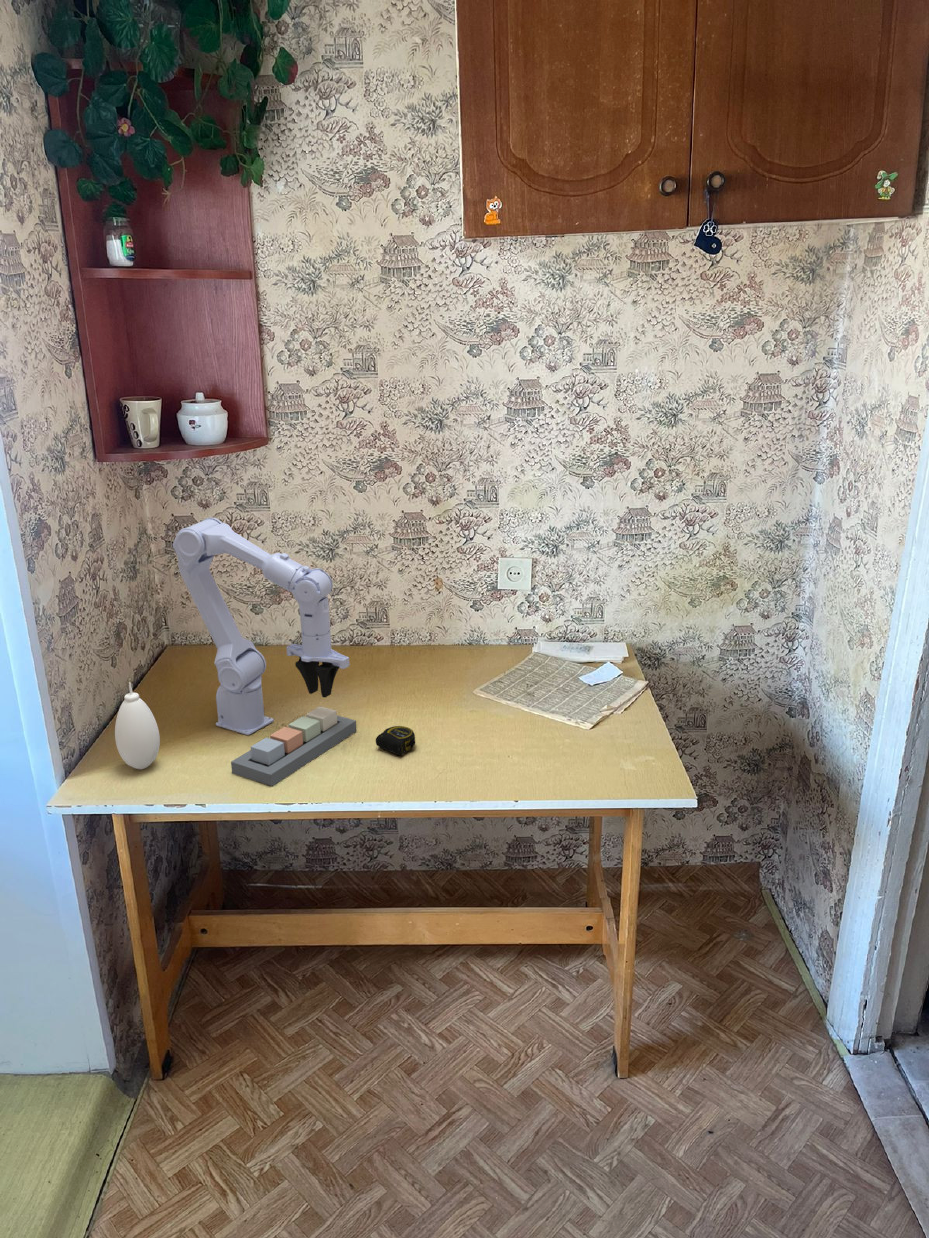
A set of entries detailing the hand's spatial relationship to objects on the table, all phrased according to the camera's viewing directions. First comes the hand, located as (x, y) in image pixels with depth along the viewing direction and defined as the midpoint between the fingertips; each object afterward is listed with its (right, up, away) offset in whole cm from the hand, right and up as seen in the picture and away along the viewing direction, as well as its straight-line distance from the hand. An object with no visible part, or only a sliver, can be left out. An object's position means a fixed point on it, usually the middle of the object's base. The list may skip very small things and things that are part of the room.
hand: (320, 693), depth 191 cm
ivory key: (0, -7, +2) cm, 7 cm away
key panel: (-4, -11, -3) cm, 12 cm away
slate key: (-8, -11, -11) cm, 18 cm away
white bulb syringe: (-33, -14, -9) cm, 37 cm away
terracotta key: (-6, -10, -6) cm, 13 cm away
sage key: (-3, -8, -2) cm, 9 cm away
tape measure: (+16, -11, -3) cm, 20 cm away
